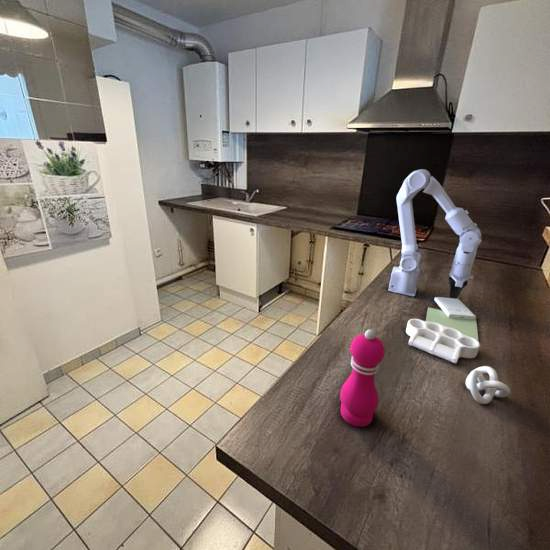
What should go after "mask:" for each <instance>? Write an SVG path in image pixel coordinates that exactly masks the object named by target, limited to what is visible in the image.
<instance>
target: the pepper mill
mask: <svg viewBox="0 0 550 550" xmlns="http://www.w3.org/2000/svg"><path fill="white" fill-rule="evenodd" d="M349 346H350V347H349V351H350V355H351V360H350V366H351V368H352V370H351V373H350V375H349V376H348V378H347V379H346V380H345V382H344V383H343V384H342V386H341V389H340V393H339V398H340V402H341V405H340V415H341V416H342V418H343V420H344V421H345V422H346V423H348V424H349V425H350V426H354V427H359V428H360V427H361V428H362V427H367V426H368V425H370V424H371V423H372V421H373V417H374V412H376V411H377V409H378V406H379V394H378V389H377V387H376V384H375V377H376V376H375V375H376V374H377V373H378V372H379V370H380V363H381V362H382V361H383V360H384V358H385V355H386V348H385V345H384V342H383V341H382V340H381V339H380V338H379V337H378V336H376V333H375V331H374V330H373V329H367V330H365V332H364V333H361V334H358V335H356V336H355V337H354V338H353V339H352V341H351V343H350V345H349Z"/></svg>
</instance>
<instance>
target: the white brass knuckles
mask: <svg viewBox="0 0 550 550" xmlns="http://www.w3.org/2000/svg"><path fill="white" fill-rule="evenodd" d="M405 333H406V335H408V336H409V339H408V342H407V345H409V346H411V347H414V348H417V349H419V350H421V351H424V352H426V353H428V354H431V355H434V356H437V357H438V358H441V359H443V360H445V361H448V362H451V363H453V364H457V363H458V361H459V359H460V358H464V359H474V358H476V357H477V356H478V352H479V350H480V347H481V344H480V342H479V340H478V341H477V340H476V339H474V338H472V337H469V336H466V335H464V334H462V333H461V332H459V331H458V330H456V329H453V328H449V327H446V326H443V325H441V324H439V323H435V322H426V320H423V319H420V318H410V319H409V320H408V321H407V324H406V328H405Z"/></svg>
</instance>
